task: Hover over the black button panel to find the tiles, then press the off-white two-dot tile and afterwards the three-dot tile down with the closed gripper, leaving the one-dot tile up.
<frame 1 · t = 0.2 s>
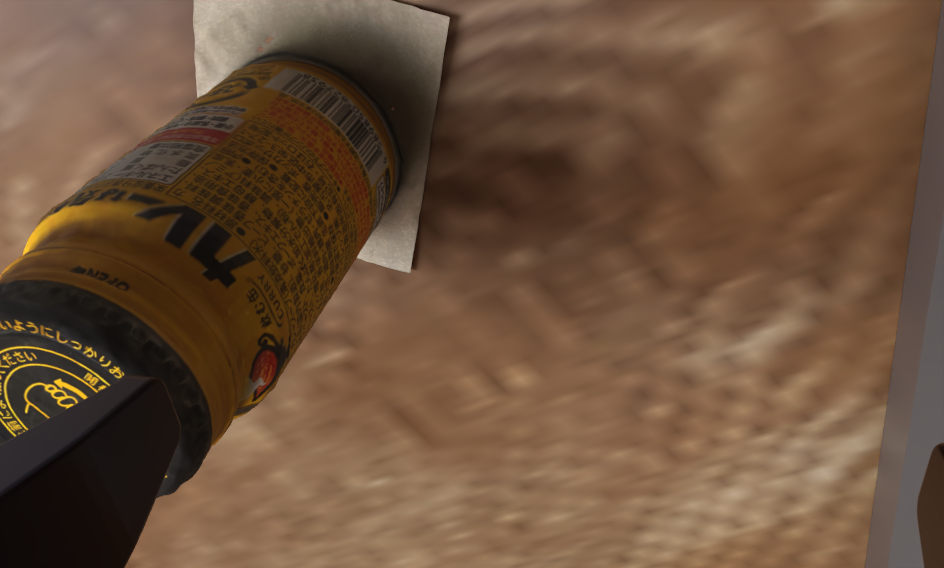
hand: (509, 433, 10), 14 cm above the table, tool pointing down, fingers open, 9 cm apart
condiment: (316, 121, 24), on the table
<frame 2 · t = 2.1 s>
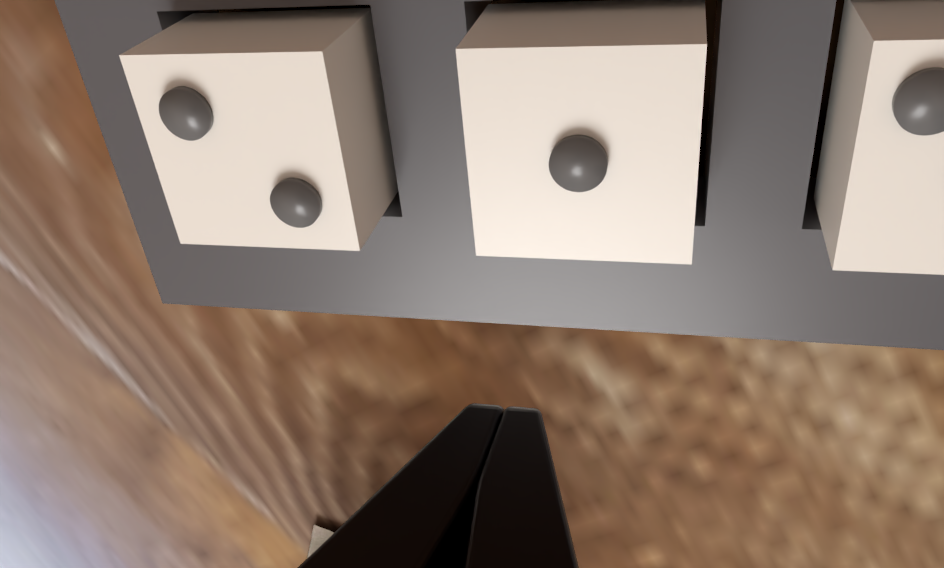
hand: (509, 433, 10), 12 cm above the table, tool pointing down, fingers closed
button panel: (600, 78, 19), on the table
tile two dots: (272, 130, 18), point 3 cm above the table, slide at 0.0 cm
tile one dot: (586, 132, 17), point 3 cm above the table, slide at 0.0 cm
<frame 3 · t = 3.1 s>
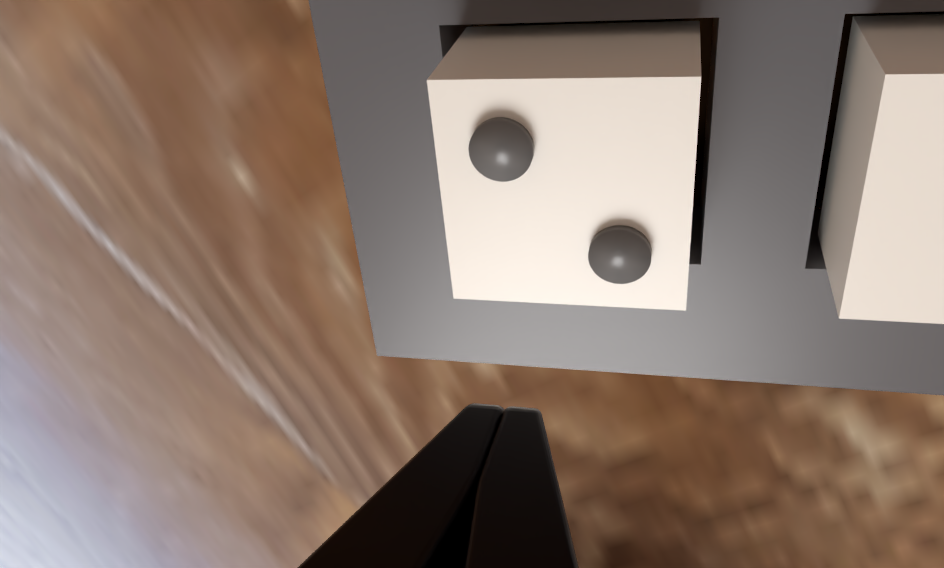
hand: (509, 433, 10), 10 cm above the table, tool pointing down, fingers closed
button panel: (940, 101, 16), on the table
tile two dots: (572, 166, 15), point 3 cm above the table, slide at 0.0 cm
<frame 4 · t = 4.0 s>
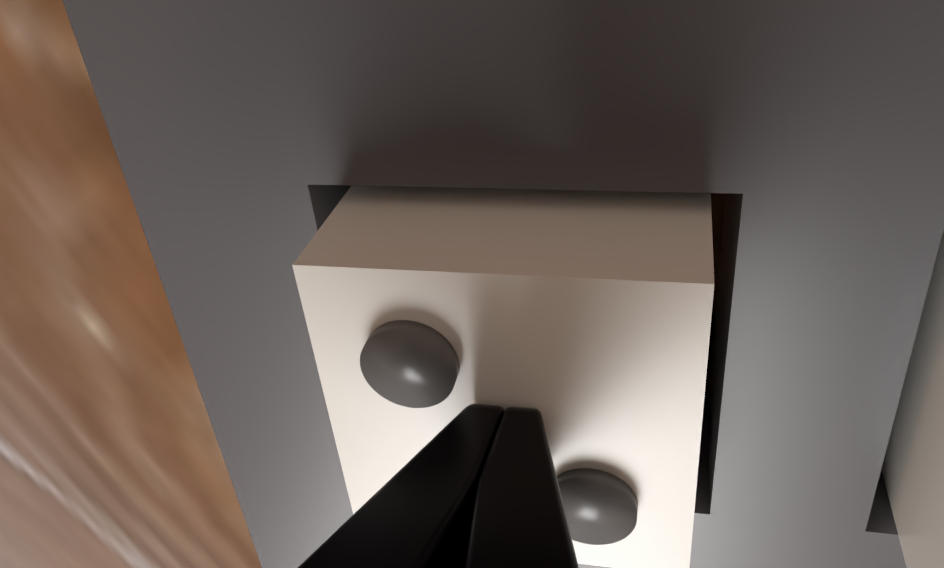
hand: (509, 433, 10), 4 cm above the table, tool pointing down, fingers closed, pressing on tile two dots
tile two dots: (524, 358, 11), point 2 cm above the table, slide at 0.8 cm, touching gripper
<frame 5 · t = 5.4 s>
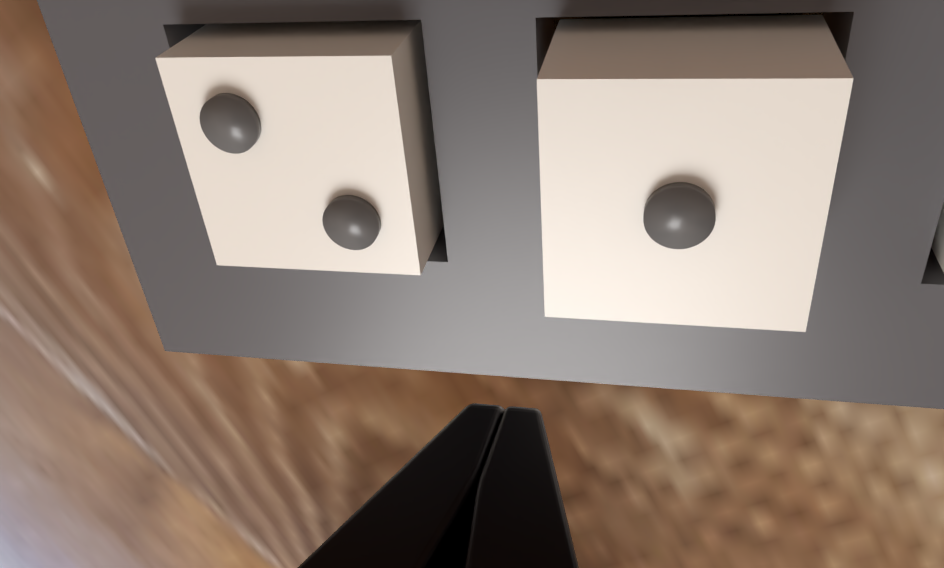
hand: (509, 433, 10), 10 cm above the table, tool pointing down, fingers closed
button panel: (678, 102, 17), on the table
tile two dots: (320, 140, 16), point 2 cm above the table, slide at 1.1 cm
tile one dot: (678, 173, 14), point 3 cm above the table, slide at 0.0 cm
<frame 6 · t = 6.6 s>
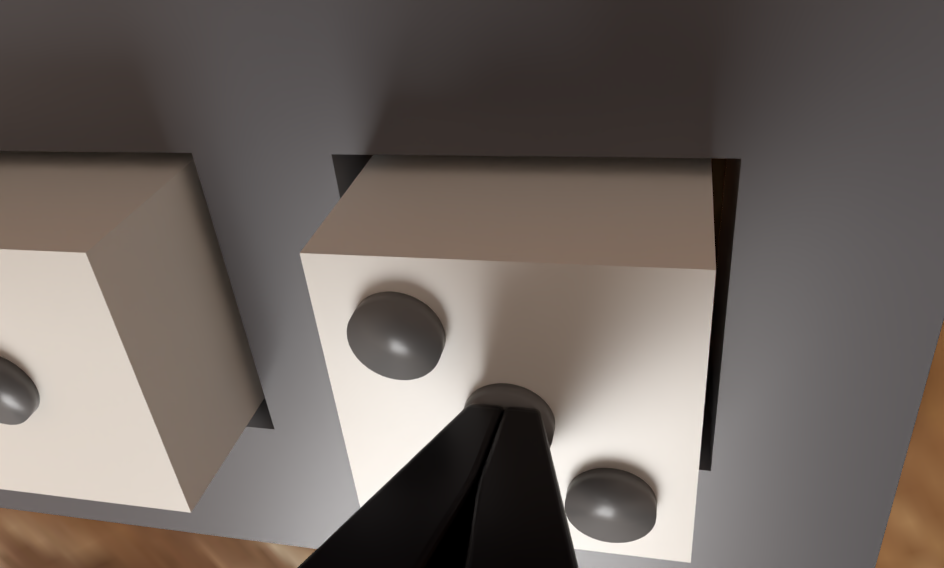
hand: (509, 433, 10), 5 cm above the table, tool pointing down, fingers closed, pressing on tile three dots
button panel: (175, 220, 15), on the table
tile one dot: (66, 324, 12), point 3 cm above the table, slide at 0.0 cm
tile three dots: (528, 346, 11), point 3 cm above the table, slide at 0.2 cm, touching gripper
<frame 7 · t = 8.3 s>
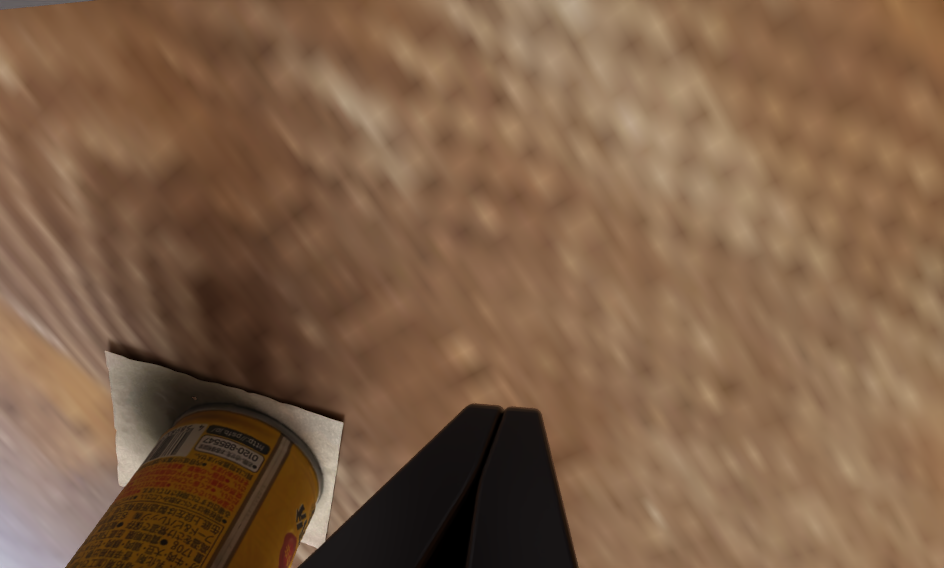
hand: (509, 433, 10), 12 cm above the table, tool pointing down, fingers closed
condiment: (227, 448, 30), on the table
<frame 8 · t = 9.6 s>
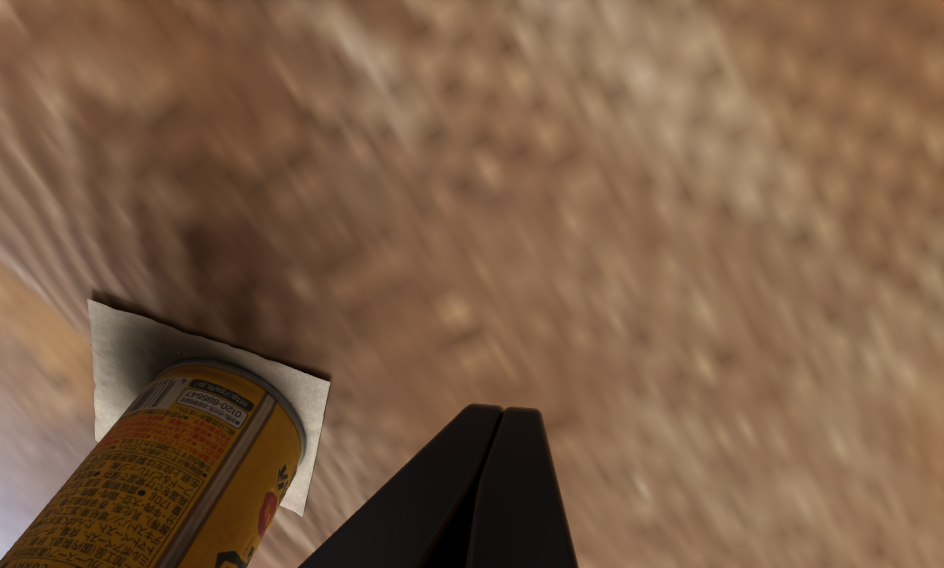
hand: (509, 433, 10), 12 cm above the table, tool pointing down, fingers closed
condiment: (209, 406, 29), on the table
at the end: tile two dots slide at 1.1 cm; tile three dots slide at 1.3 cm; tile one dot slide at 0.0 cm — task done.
